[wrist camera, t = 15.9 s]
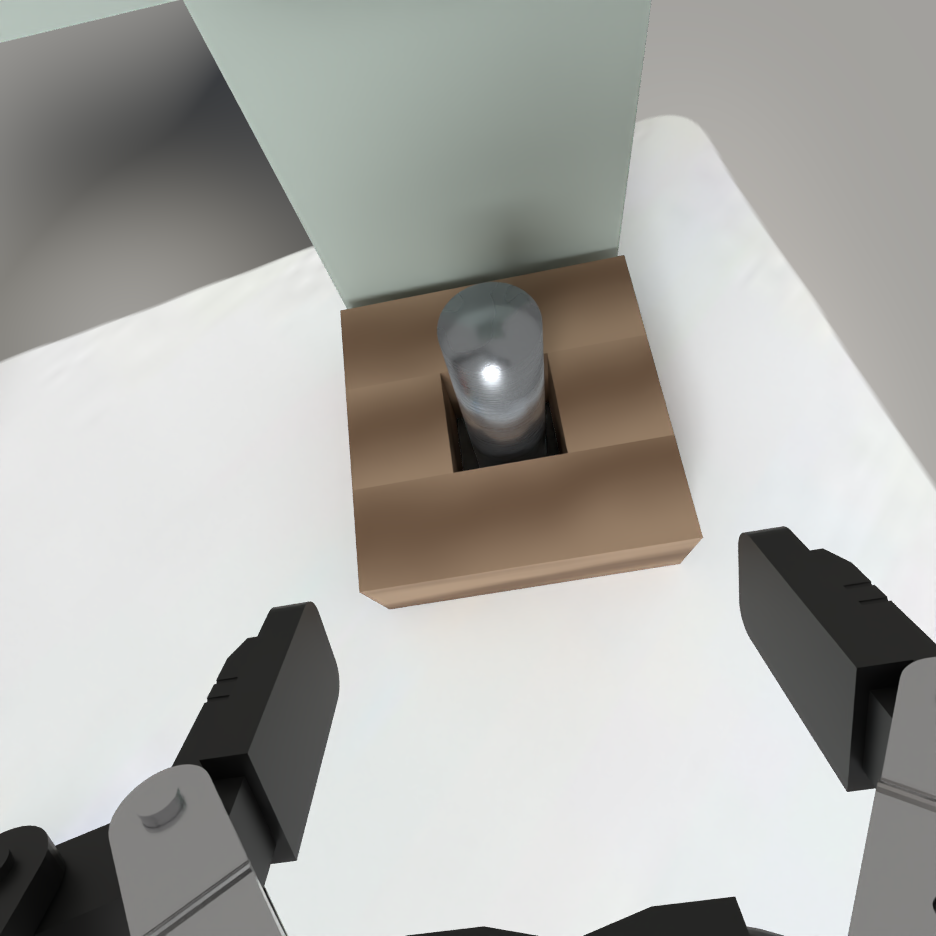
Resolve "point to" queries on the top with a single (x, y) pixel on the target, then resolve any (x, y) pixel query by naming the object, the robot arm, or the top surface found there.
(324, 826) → the top surface
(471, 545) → the socket block
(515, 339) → the steel peg
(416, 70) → the pale green block
